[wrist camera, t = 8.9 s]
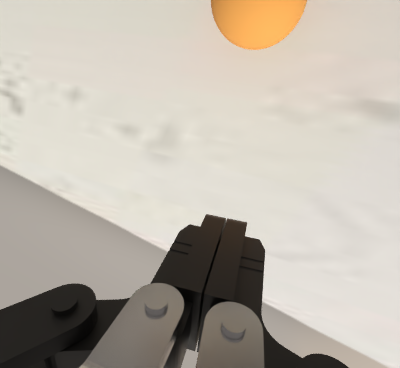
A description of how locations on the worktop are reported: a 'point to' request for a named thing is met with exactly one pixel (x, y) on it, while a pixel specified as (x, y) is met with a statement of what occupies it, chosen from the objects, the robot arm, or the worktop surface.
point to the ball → (256, 20)
